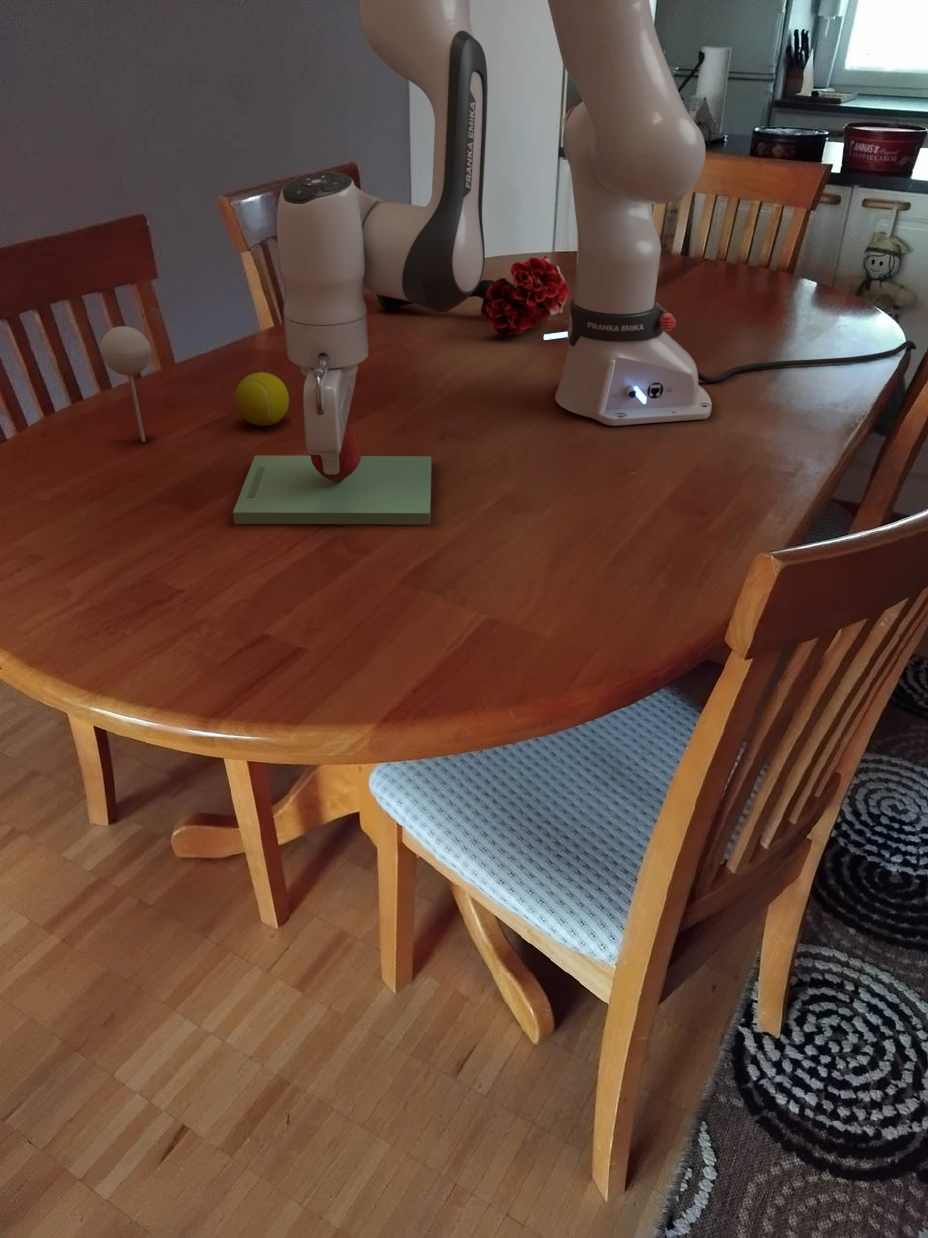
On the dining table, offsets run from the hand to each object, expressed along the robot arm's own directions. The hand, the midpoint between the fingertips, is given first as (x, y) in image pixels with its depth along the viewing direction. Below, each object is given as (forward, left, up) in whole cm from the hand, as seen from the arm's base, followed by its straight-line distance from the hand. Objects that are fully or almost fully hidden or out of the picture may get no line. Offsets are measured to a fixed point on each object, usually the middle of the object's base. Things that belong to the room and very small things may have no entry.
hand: (335, 457), depth 109 cm
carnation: (-17, -67, -5) cm, 69 cm away
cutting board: (0, 0, -5) cm, 5 cm away
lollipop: (+27, -15, -5) cm, 31 cm away
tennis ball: (+12, -21, -5) cm, 25 cm away
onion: (0, 0, -3) cm, 3 cm away
